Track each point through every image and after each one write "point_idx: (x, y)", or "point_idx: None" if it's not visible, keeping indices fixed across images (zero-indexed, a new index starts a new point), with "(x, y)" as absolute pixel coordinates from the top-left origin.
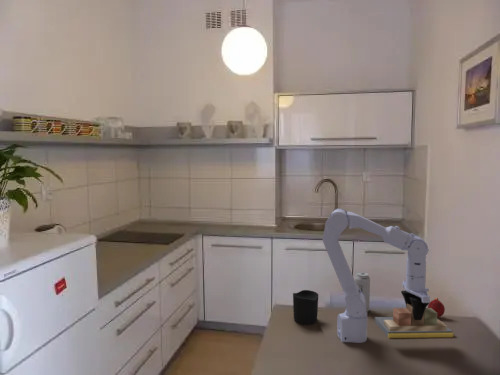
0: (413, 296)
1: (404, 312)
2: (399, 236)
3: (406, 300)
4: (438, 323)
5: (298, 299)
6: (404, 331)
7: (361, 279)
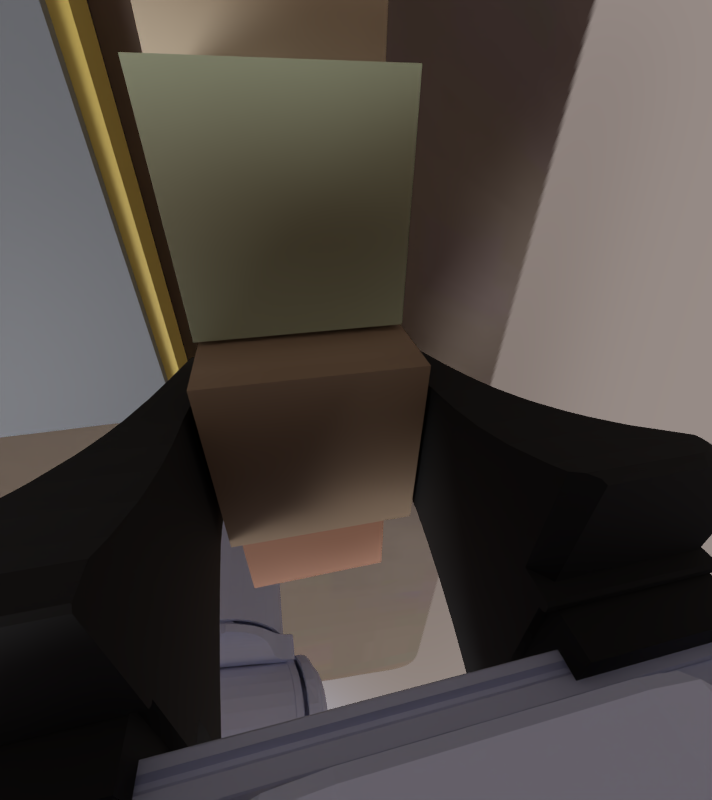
0: (175, 594)
1: (365, 524)
2: None
3: (218, 592)
4: (295, 6)
5: None
6: (132, 303)
7: None
